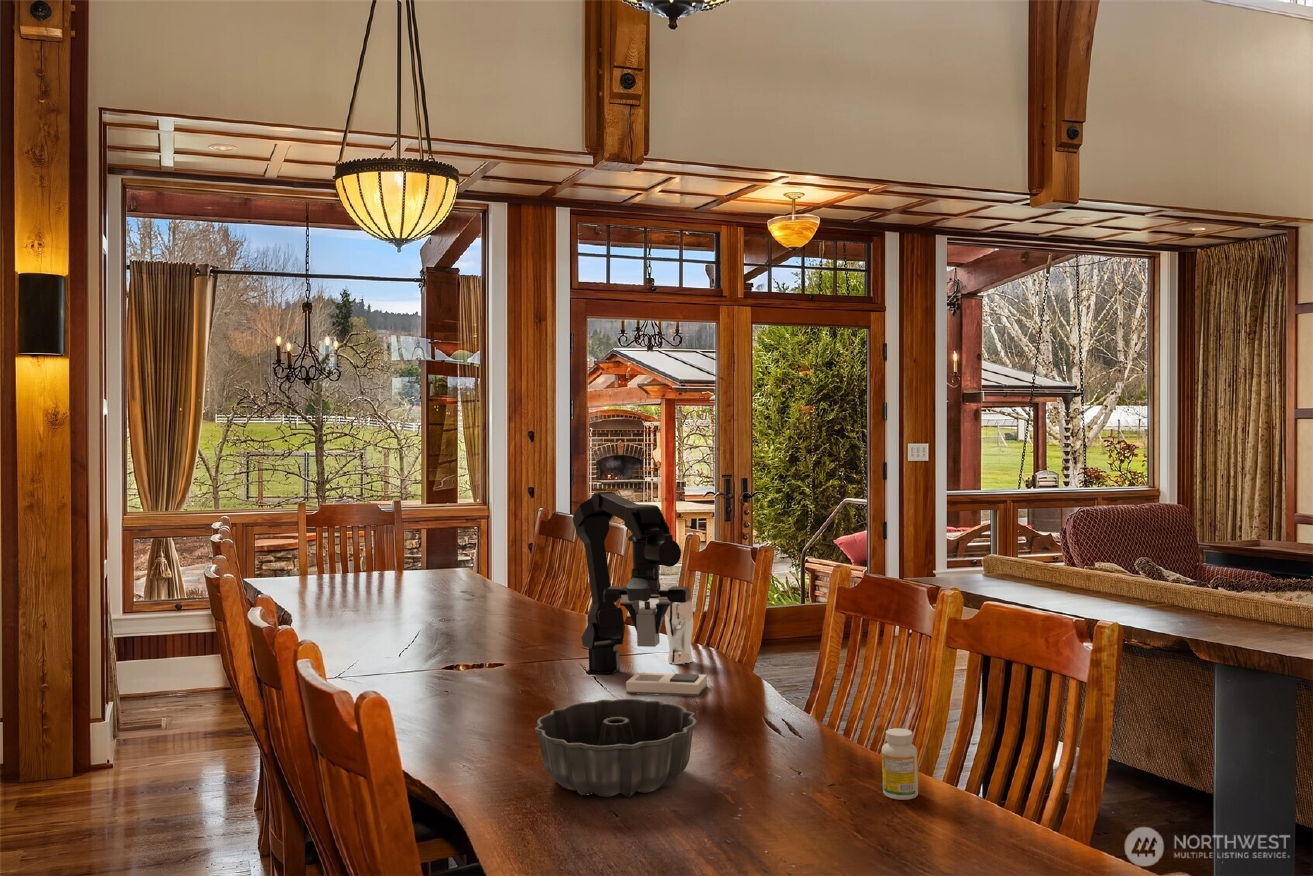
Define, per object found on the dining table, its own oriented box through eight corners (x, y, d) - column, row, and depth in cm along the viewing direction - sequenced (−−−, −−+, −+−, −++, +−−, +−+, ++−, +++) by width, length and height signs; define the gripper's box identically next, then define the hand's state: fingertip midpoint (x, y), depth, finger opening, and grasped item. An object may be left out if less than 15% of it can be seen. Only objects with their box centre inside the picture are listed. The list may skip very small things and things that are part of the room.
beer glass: (692, 665, 249) (690, 603, 249) (663, 665, 250) (661, 603, 250) (696, 659, 256) (694, 598, 256) (669, 658, 257) (667, 598, 257)
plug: (637, 646, 226) (635, 603, 226) (642, 642, 230) (640, 600, 230) (655, 646, 225) (653, 603, 225) (659, 643, 229) (658, 600, 229)
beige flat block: (626, 693, 224) (625, 680, 224) (637, 683, 233) (637, 670, 233) (698, 696, 220) (697, 682, 220) (707, 686, 228) (706, 672, 228)
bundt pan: (685, 813, 153) (683, 746, 153) (515, 806, 158) (513, 741, 158) (708, 757, 179) (706, 700, 179) (561, 753, 184) (560, 697, 184)
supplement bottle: (908, 803, 154) (906, 739, 154) (876, 796, 157) (874, 733, 157) (924, 793, 158) (922, 730, 158) (892, 786, 162) (891, 725, 162)
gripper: (594, 567, 222) (596, 640, 222) (678, 567, 217) (680, 641, 217) (609, 561, 233) (611, 630, 233) (690, 560, 228) (692, 631, 228)
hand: (648, 633), depth 227 cm, fingers closed on plug, 4 cm apart
